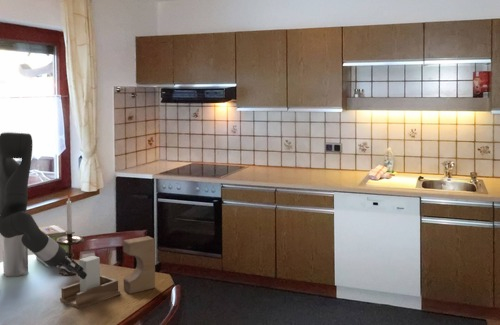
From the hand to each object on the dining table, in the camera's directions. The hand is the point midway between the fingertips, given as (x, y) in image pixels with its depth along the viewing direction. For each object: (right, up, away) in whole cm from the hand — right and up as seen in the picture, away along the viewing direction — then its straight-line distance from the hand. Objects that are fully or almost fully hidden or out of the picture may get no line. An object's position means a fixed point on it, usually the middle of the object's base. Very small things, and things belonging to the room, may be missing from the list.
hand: (77, 274), depth 192 cm
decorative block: (+19, -9, +15) cm, 26 cm away
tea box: (-27, -4, +47) cm, 54 cm away
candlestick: (-14, -6, +32) cm, 36 cm away
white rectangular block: (+3, -9, +6) cm, 11 cm away
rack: (+3, -10, +6) cm, 12 cm away
